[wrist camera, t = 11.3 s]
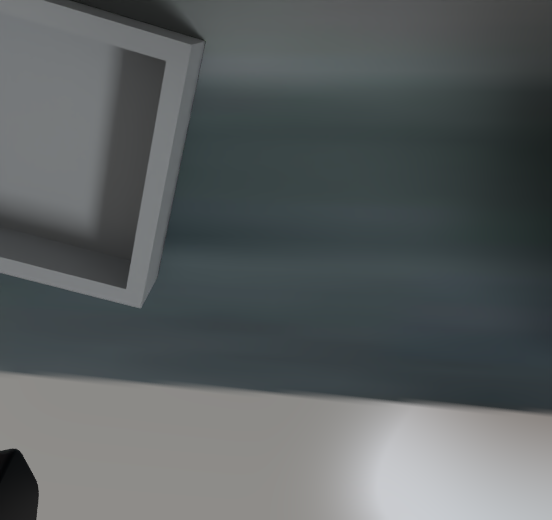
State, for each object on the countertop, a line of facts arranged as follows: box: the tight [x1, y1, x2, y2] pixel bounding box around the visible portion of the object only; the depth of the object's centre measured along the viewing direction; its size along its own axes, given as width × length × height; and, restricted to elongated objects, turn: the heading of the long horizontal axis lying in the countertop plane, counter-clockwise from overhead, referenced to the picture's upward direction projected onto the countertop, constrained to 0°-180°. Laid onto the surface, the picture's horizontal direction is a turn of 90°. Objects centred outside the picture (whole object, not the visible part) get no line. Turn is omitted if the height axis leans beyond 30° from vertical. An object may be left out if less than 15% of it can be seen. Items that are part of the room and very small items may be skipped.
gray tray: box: [0, 0, 206, 308], centre depth 17 cm, size 9×9×2 cm
